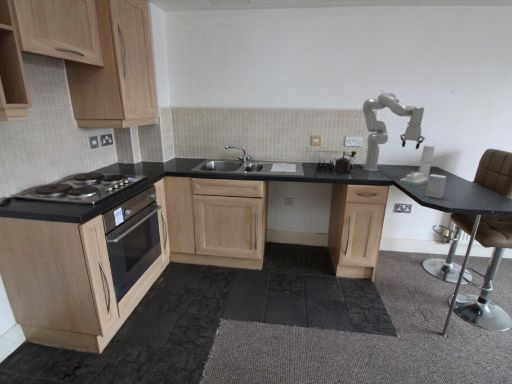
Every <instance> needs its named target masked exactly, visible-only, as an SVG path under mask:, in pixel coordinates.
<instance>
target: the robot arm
mask: <svg viewBox="0 0 512 384" xmlns="http://www.w3.org/2000/svg"><path fill="white" fill-rule="evenodd" d="M377 97H378V98H368V99H366V100H364V103H363V104H362V113H363V115H364V118H365V119H364V120H365V124H366V129H367V131H368V132H370V134H369V135H368V136H367V149H366V150H367V151H366V155H365V156H366V157H365V163H361V165H360V166H361V167H363V168H362V170H364V171H368V172H378V171H379V168H378V160H379V154H380V146H379V145H385V144H386V143H387V142H388V140H389V135H388V130H387V126H386V123H385V122H384V121H382V120H377V116H376V115H377V114H376V113H375V111H374V110H382V109H385V108H388V109H390V111H391V113H393V114H394V115H396V116H399V117H406V118H407V117H408V118H409V121H408V122H407V126H406V128H405V131H404V133H402V134H400V135H399V136H400V140H401V142H402V143H401V147H402V148H405V146H406V143H407V141H413V142H416V144H415V150H419V148H420V144H421V143H423V142H424V141H425V139H426V138H425V137H424V136H422V121H423V118H424V117H423V116H424V114H425V113H424V112H425V107H423V106H414V105H403V104H401V103H400V99H399V98H397V96H396V94H395V93H393V92H392V93H391V92H382V93H380V94H379V95H378V96H377Z"/></svg>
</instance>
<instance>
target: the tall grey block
mask: <svg viewBox="0 0 512 384" xmlns="http://www.w3.org/2000/svg"><path fill="white" fill-rule="evenodd" d="M435 147H436V146H435V145H429V144H423V149H422V153H421V159H420V164H419V168H418V170H419V169H421V170H422V171H421V173H424V178H429V176H430V170H431V167H432V163H433V155H434V152H435Z"/></svg>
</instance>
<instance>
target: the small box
mask: <svg viewBox="0 0 512 384" xmlns="http://www.w3.org/2000/svg"><path fill="white" fill-rule="evenodd" d="M428 178H429V180H428V182H427V186H426V192H425V197H429V198H436V199H441V198H442V197H443V196H444V191H445V187H446V186H445V185H446V182H447V178H448V177H447V175H440V174H434V173H432V174H429V177H428Z"/></svg>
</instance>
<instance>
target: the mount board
mask: <svg viewBox="0 0 512 384" xmlns="http://www.w3.org/2000/svg"><path fill="white" fill-rule="evenodd" d="M421 171H422V170H421V169H419V168H418V171H417V172H418V173H420V174H421ZM413 173H415V171H410V174H411V176H413ZM405 179H406V177H403V178H400V179H399V183H403V184H408V185H412V186H420V185H423V184H425V183H428V180H429V177H428V178H421V179H418V180H416V181H413V182H412V181H407V180H405Z"/></svg>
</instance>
